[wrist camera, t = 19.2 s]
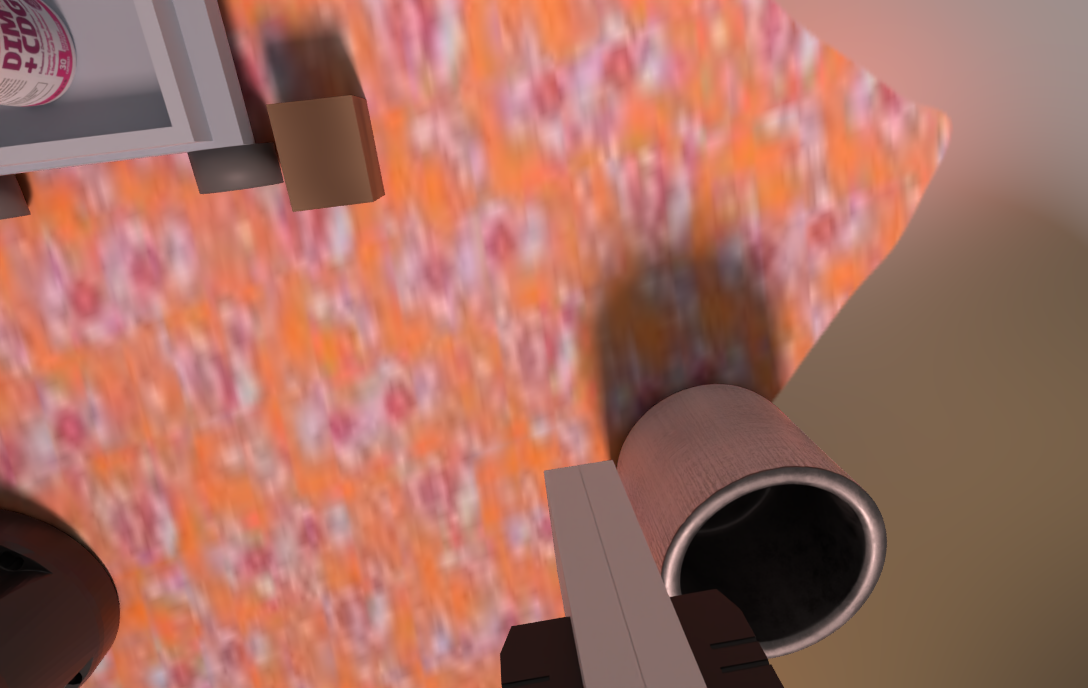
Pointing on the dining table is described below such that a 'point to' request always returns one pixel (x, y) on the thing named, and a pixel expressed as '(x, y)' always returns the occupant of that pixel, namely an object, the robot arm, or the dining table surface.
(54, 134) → the trolley
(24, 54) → the pill bottle
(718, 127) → the dining table surface
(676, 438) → the planter
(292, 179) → the block
